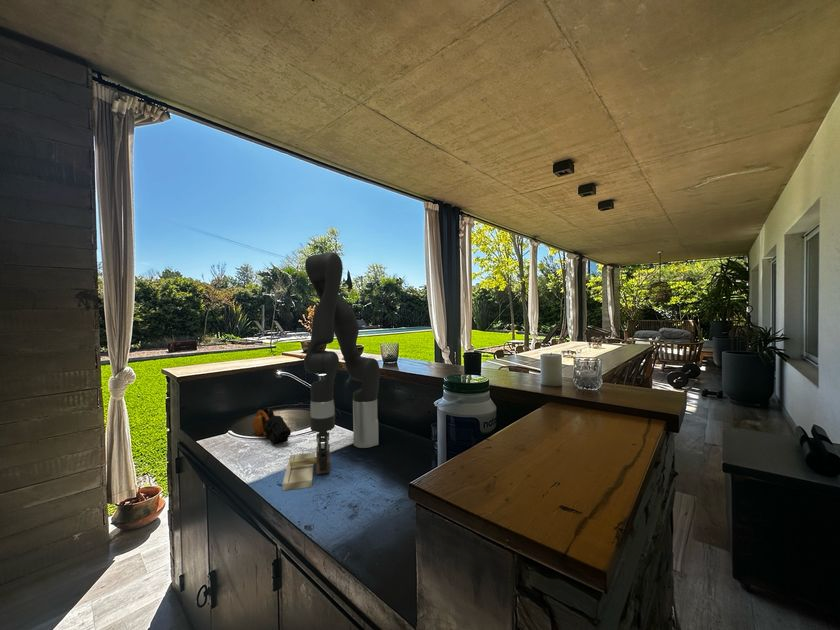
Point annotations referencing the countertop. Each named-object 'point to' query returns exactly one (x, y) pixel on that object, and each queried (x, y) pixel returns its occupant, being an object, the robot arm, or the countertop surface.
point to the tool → (271, 426)
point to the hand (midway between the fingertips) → (323, 466)
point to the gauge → (313, 461)
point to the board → (299, 473)
